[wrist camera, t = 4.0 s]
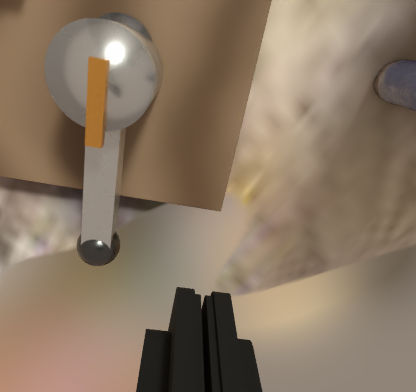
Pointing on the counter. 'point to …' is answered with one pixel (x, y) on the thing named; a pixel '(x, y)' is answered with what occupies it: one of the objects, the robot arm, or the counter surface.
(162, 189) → the lever stand
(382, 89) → the flask
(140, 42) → the crank handle
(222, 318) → the robot arm
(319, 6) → the counter surface
